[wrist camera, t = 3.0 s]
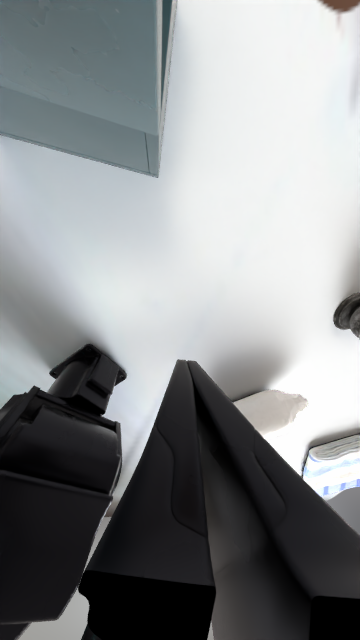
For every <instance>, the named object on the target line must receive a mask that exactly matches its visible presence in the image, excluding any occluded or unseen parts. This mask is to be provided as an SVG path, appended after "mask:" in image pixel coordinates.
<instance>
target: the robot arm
mask: <svg viewBox="0 0 360 640" xmlns="http://www.w3.org/2000/svg"><path fill="white" fill-rule="evenodd" d="M88 348H90V349H88ZM54 372H55V373H54ZM49 374H50V375H51V376H52V377H53V378H55V379H56V380H55V382H54V383H53V385H52V386H51V387H50V389H49V390H48V392H44V391H42V390H40V388H38V387H36V386H33V387H32V389H31V390H30V391H29V392H28V393H26V392H25V393H24V394H20V395H13V396H12V397H11V399H10V400H9V401H8V402H7V403H6V404H5V405H4V406H3V407H2V408H1V410H0V640H18V639H19V638H20V637H21V635H22V634H23V633H24V632H25V630H26V629H27V628H28V627H29V626H30V624H31V623H32V622H42V621H54V620H57V619H59V617H60V616H61V615H62V613H63V612H64V610H65V608H66V607H67V605H68V603H69V602H70V600H71V598H72V597H73V595H74V593H75V592H76V590H77V588H78V591H79V593H80V594H82V595H83V596H85V597H86V598H87V600H88V601H89V605H90V606H89V612H88V620H87V621H88V624H87V626H86V629H85V631H84V634H83V636H82V639H81V640H207V638H208V633H209V628H210V623H211V621H212V627H213V636H214V640H360V535H359V534H358V533H357V532H356V531H355V530H354V529H353V528H352V527H351V526H350V525H349V524H348V523H347V522H346V521H345V520H344V519H343V518H342V517H341V516H340V515H339V514H338V513H337V512H336V511H335V510H334V509H333V508H332V507H331V506H330V505H329V504H328V503H327V502H326V501H325V500H324V499H323V498H322V497H321V496H320V495H319V494H318V493H317V492H316V491H315V490H314V489H313V488H312V487H311V486H310V485H309V484H308V483H307V482H306V481H304V480H303V479H302V478H301V477H300V476H299V475H298V474H297V472H296V471H295V470H294V469H293V468H292V467H291V466H290V465H289V464H288V463H287V462H286V461H285V460H284V459H283V458H282V457H281V456H280V455H279V454H278V453H277V452H276V451H275V450H274V448H273V447H272V446H271V445H270V444H269V443H268V442H267V441H266V440H265V439H264V438H263V436H262V435H261V434H260V433H259V432H258V431H257V430H256V429H255V428H254V426H253V425H252V424H251V423H250V422H249V421H248V420H247V418H246V417H245V416H244V415H243V414H242V413H241V412H240V410H239V409H238V408H237V407H236V406H235V405H234V404H233V403H232V401H231V400H230V399H229V398H228V397H227V396H226V395H225V394H224V392H223V391H222V390H221V389H220V388H219V387H218V386H217V384H216V383H215V382H214V381H213V380H212V379H211V378H210V377H209V375H208V374H207V373H206V372H205V371H204V370H203V369H202V368H201V366H200V365H199V364H198V363H197V362H196V361H189V360H188V361H186V360H177V362H176V365H175V368H174V370H173V373H172V376H171V379H170V381H169V384H168V387H167V390H166V392H165V395H164V398H163V401H162V403H161V406H160V409H159V412H158V414H157V417H156V420H155V423H154V426H153V428H152V431H151V433H150V436H149V439H148V441H147V444H146V446H145V449H144V451H143V454H142V456H141V459H140V461H139V463H138V465H137V467H136V469H135V471H134V473H133V476H132V478H131V480H130V482H129V484H128V486H127V488H126V490H125V492H124V494H123V496H122V498H121V500H120V502H119V504H118V506H117V508H116V510H115V512H114V514H113V516H112V518H111V520H110V522H109V524H108V526H107V528H106V530H105V532H104V534H103V536H102V538H101V540H100V541H99V543H98V545H97V547H96V550H95V551H94V554H93V556H92V557H91V559H90V561H89V563H88V565H87V567H86V569H85V571H84V568H85V565H86V562H87V559H88V555H89V553H90V550H91V546H92V544H93V541H94V538H95V535H96V533H97V531H98V529H99V526H100V524H101V522H102V519H103V517H104V515H105V514H106V512H107V510H108V508H109V506H110V504H111V502H112V500H113V493H114V491H115V488H116V486H117V483H118V480H119V477H120V473H121V467H122V448H121V428H120V423H119V422H116V421H115V422H114V421H111V420H109V419H107V418H104V417H102V415H103V414H105V412H106V409H107V405H108V402H109V398H110V395H111V394H112V392H113V388H114V386H116V385H117V384H119V383H120V382H122V381H123V380H125V379H126V377H127V374H126V373H125V372H124V371H123V370H122V369H121V368H119V366H117V365H116V364H115V363H114V362H113V361H111V360H110V359H109V358H108V357H107V356H105V355H104V354H103V353H101V352H100V351H99V350H98V349H97V348H96V347H94V346H93V345H92V344H86V345H85V346H83V347H82V348H81V349H79V350H78V351H77V352H75V353H74V354H72V355H71V356H70V357H68V358H67V359H65V360H64V361H63V362H61V363H60V364H59V365H57V366H56V367H54V368H53V369H52V370H51V371H50V372H49ZM83 571H84V573H83ZM82 574H83V575H82ZM81 577H82V578H81ZM80 580H81V581H80ZM79 583H80V584H79ZM78 586H79V587H78Z"/></svg>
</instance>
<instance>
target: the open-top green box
mask: <svg viewBox="0 0 360 640" xmlns="http://www.w3.org/2000/svg"><path fill="white" fill-rule="evenodd" d="M176 7H177V0H162V57H161V115H160V126H159V134H158V136H155V135H152V134H149V133H146V132H143V131H140V130H136V129H133V128H130V127H127V126H124V125H121V124H118V123H115V122H111V121H108V120H105V119H102V118H99V117H96V116H93V115H90V114H86V113H83V112H80V111H77V110H74V109H71V108H68V107H64V106H61V105H58V104H55V103H52V102H49V101H46V100H43V99H39V98H36V97H33V96H30V95H27V94H24V93H21V92H18V91H14V90H11V89H8V88H5V87H2V86H0V135H2V136H6V137H10V138H13V139H17V140H21V141H24V142H28V143H32V144H35V145H39V146H43V147H46V148H50V149H54V150H57V151H61V152H65V153H68V154H72V155H76V156H79V157H83V158H87V159H90V160H94V161H98V162H101V163H105V164H109V165H112V166H116V167H120V168H123V169H127V170H131V171H134V172H138V173H142V174H145V175H149V176H153V177H156V178H158V176H159V166H160V157H161V147H162V138H163V129H164V119H165V110H166V101H167V91H168V82H169V72H170V63H171V54H172V44H173V35H174V25H175V16H176Z"/></svg>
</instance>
